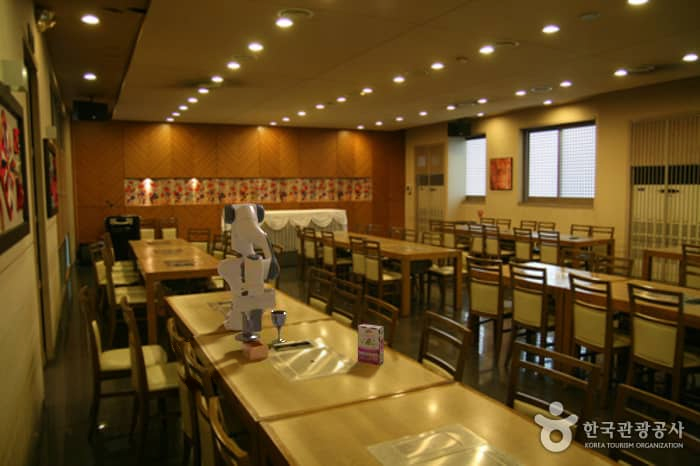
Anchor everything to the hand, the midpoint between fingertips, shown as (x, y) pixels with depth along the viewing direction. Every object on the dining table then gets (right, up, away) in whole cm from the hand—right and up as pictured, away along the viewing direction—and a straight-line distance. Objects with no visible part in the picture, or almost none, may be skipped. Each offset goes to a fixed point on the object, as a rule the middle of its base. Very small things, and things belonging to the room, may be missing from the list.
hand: (254, 319), depth 248 cm
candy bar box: (+54, -18, -5) cm, 57 cm away
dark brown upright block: (0, -5, 0) cm, 5 cm away
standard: (-3, -17, +6) cm, 18 cm away
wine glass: (+8, -15, +25) cm, 30 cm away
